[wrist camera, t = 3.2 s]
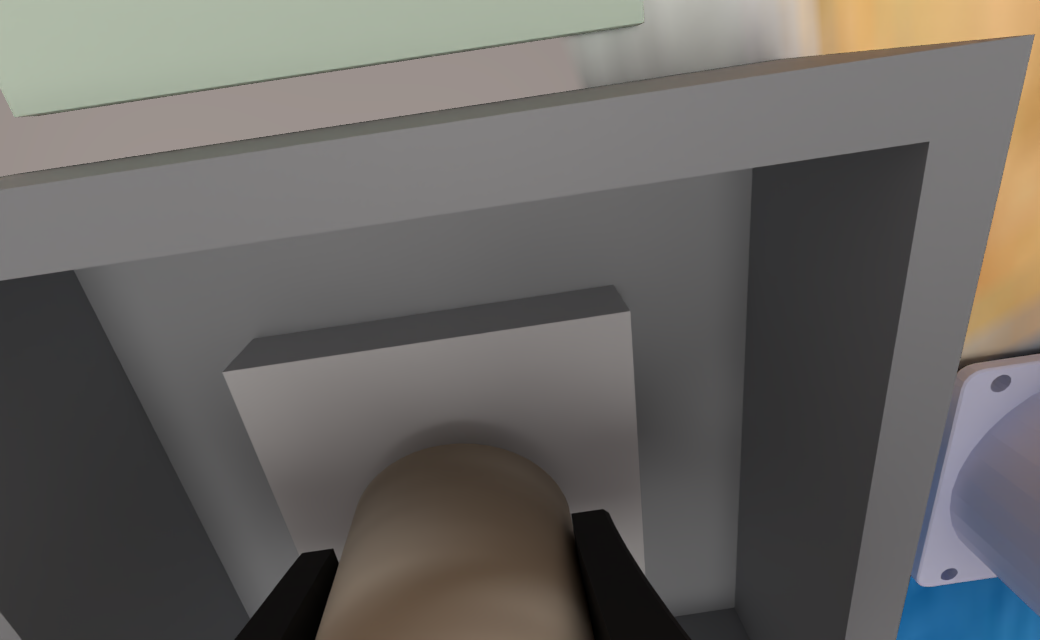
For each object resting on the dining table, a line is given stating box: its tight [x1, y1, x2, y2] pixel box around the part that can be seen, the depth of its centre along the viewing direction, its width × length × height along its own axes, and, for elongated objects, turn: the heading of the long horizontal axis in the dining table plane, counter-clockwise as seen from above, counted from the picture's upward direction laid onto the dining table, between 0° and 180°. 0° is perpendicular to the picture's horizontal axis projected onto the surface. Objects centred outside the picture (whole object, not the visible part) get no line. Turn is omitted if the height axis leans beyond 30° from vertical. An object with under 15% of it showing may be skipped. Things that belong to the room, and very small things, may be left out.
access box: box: [0, 34, 1035, 640], centre depth 12 cm, size 16×16×6 cm
